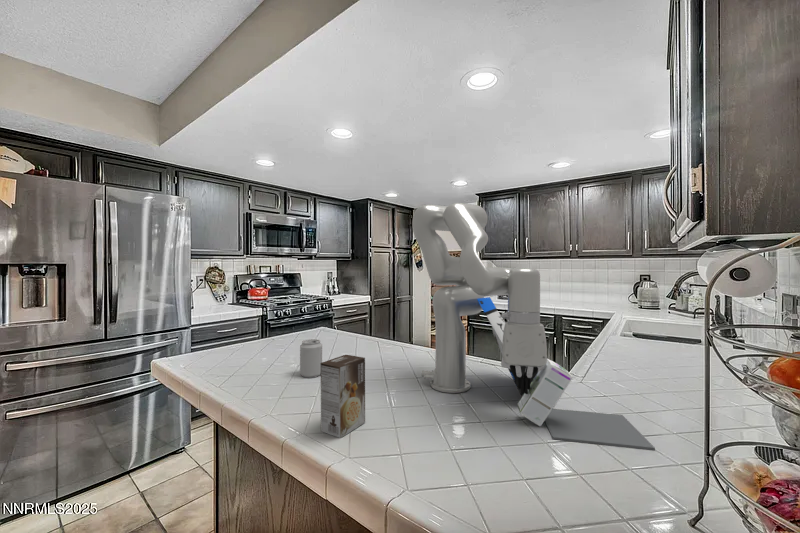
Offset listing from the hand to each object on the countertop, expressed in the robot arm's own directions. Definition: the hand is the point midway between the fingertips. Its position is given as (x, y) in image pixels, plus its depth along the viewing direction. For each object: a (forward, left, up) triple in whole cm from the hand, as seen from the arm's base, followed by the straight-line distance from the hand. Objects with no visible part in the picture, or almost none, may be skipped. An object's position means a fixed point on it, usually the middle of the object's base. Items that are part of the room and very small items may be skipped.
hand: (523, 391), depth 84 cm
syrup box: (+1, 0, -6) cm, 6 cm away
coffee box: (-42, -13, -8) cm, 45 cm away
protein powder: (+6, +19, -5) cm, 21 cm away
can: (-67, +20, -8) cm, 71 cm away
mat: (+15, 0, -7) cm, 17 cm away
